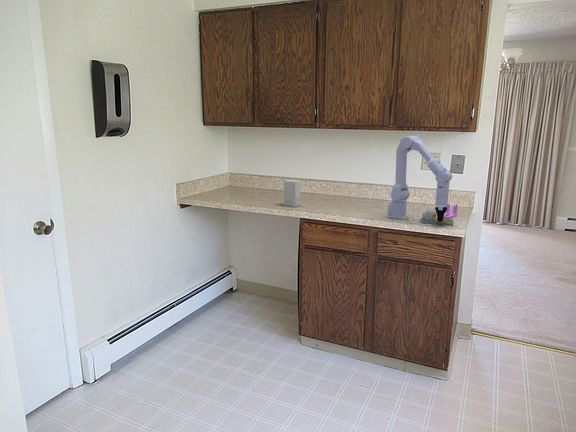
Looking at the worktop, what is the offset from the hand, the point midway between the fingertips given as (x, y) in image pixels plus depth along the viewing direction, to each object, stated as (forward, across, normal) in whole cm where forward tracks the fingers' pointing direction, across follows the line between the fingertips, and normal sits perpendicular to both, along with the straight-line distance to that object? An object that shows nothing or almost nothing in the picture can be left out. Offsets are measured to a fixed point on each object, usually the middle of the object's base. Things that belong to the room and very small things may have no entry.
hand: (439, 221), depth 220 cm
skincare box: (+2, +15, +86) cm, 87 cm away
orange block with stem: (0, +8, +6) cm, 10 cm away
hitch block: (+2, +8, +3) cm, 9 cm away
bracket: (+2, +22, -3) cm, 23 cm away
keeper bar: (0, +2, -1) cm, 3 cm away
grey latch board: (+2, +7, +2) cm, 7 cm away
